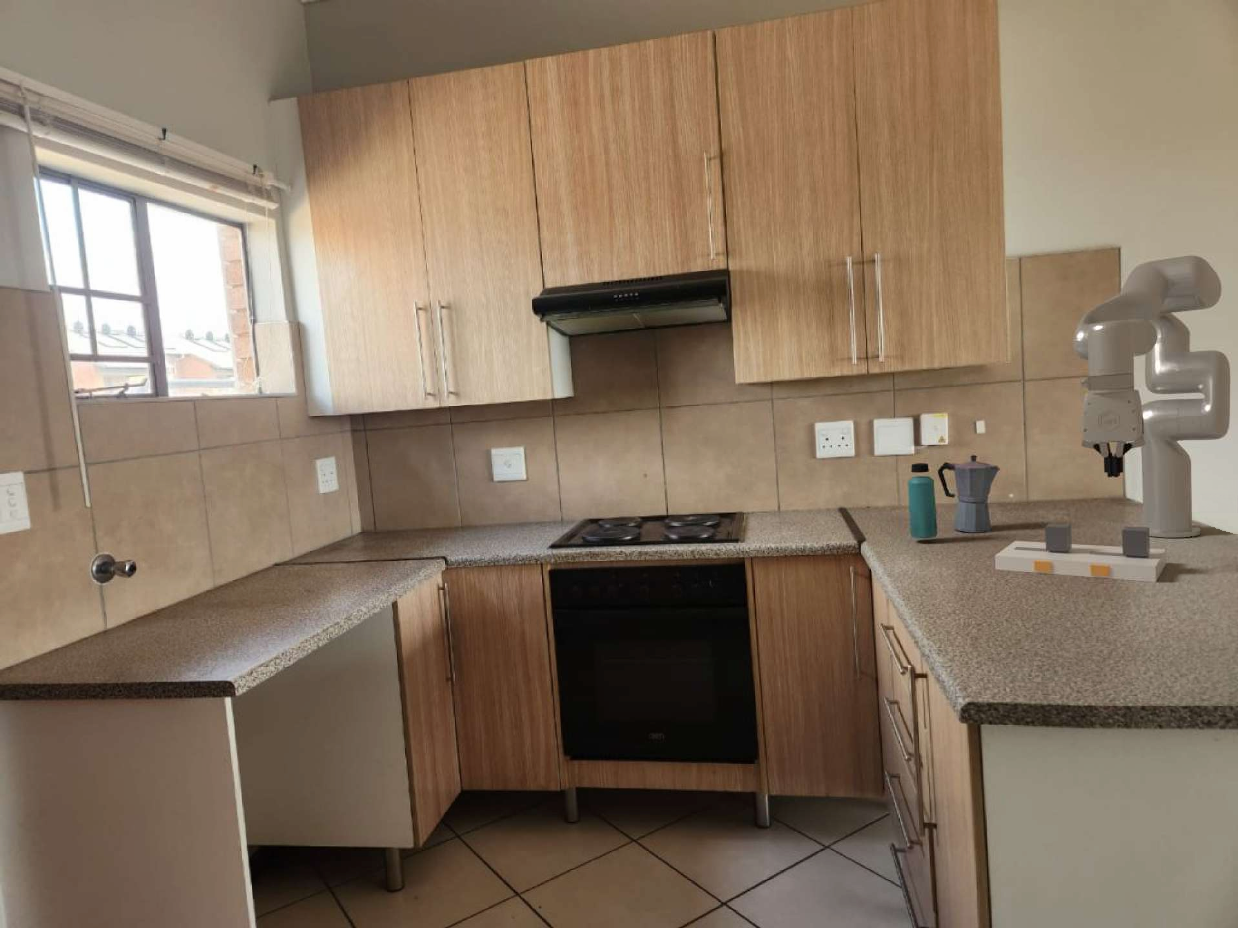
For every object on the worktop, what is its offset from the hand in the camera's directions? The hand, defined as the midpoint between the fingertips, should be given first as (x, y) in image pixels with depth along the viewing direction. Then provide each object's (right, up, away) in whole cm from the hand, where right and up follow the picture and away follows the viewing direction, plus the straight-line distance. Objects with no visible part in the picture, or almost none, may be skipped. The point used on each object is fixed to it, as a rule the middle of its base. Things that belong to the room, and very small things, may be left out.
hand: (1113, 476), depth 155 cm
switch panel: (-3, -19, +6) cm, 20 cm away
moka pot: (-5, -15, +51) cm, 54 cm away
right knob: (+4, -15, -1) cm, 16 cm away
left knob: (-6, -15, +8) cm, 18 cm away
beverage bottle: (-22, -17, +41) cm, 50 cm away
